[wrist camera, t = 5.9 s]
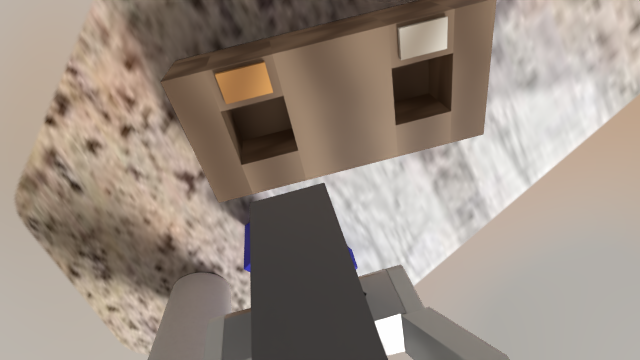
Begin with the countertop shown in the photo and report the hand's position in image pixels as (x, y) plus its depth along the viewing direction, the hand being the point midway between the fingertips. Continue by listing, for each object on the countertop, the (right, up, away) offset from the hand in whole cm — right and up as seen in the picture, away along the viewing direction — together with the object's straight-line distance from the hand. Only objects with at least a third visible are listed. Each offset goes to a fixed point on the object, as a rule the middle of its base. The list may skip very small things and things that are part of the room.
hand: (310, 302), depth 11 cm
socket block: (+1, +12, +18) cm, 21 cm away
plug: (-1, +2, +3) cm, 4 cm away
